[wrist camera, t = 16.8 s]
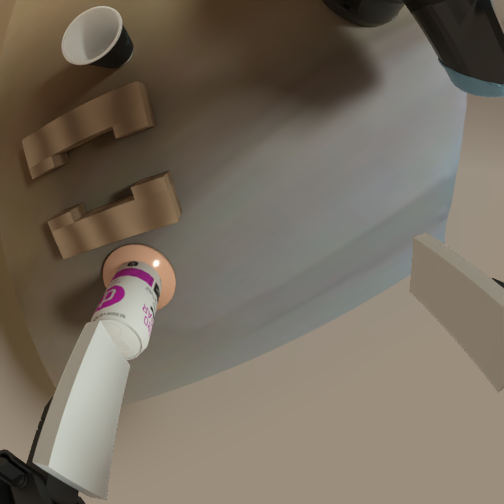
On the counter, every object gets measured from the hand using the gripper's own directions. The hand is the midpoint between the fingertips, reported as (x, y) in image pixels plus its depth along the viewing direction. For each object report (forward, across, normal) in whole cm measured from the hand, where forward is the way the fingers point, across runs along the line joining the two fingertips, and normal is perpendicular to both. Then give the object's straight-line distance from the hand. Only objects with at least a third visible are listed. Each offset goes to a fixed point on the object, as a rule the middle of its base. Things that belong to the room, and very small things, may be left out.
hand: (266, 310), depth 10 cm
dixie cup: (+33, -11, +23) cm, 42 cm away
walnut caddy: (+33, -18, +6) cm, 38 cm away
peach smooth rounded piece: (+33, -19, -13) cm, 40 cm away
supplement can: (+32, -19, -13) cm, 39 cm away
